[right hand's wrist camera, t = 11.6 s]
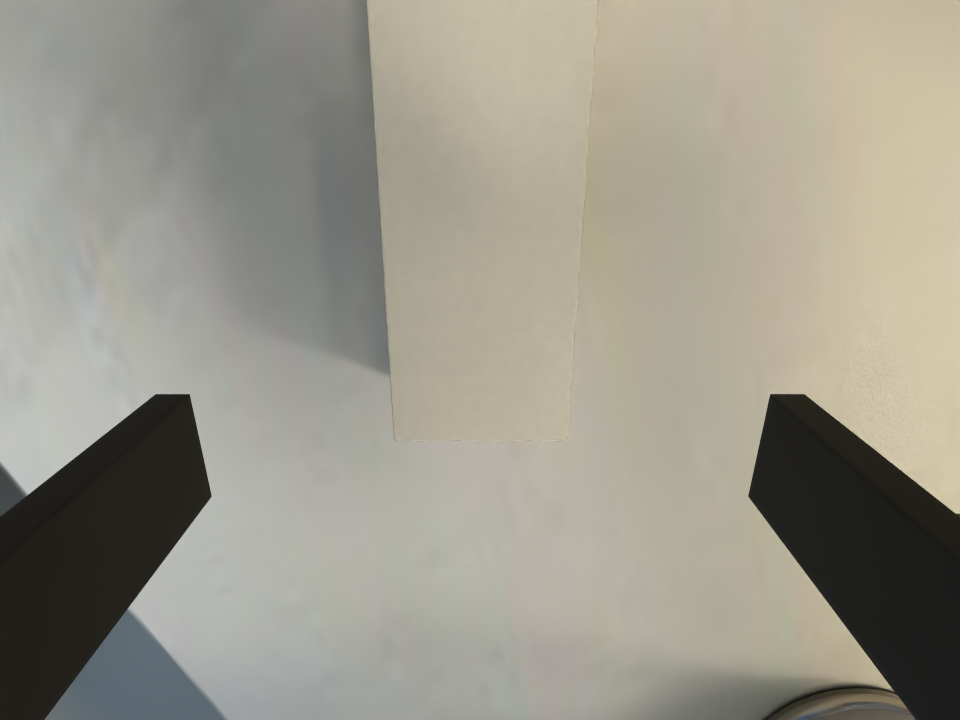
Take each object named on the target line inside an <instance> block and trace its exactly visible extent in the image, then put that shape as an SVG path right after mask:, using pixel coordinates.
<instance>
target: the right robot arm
mask: <svg viewBox="0 0 960 720" xmlns="http://www.w3.org/2000/svg"><path fill="white" fill-rule="evenodd" d="M211 497H212V496H211V491H210V486H209V482H208V477H207V473H206V468H205V463H204V459H203V454H202V449H201V445H200V440H199V435H198V431H197V426H196V422H195V417H194V412H193V408H192V403H191V398H190V394H156V395H154V396H153V397H152V398H150V399H149V400H148V401H147V402H145V403H144V404H143V405H142V406H140V407H139V408H138V409H137V410H135V411H134V412H133V413H131V414H130V415H129V416H128V417H126V418H125V419H124V420H123V421H121V422H120V423H119V424H118V425H116V426H115V427H114V428H112V429H111V430H110V431H109V432H107V433H106V434H105V435H104V436H102V437H101V438H100V439H99V440H97V441H96V442H95V443H93V444H92V445H91V446H90V447H88V448H87V449H86V450H85V451H83V452H82V453H81V454H80V455H78V456H77V457H76V458H74V459H73V460H72V461H71V462H69V463H68V464H67V465H66V466H64V467H63V468H62V469H61V470H59V471H58V472H57V473H55V474H54V475H53V476H52V477H50V478H49V479H48V480H47V481H45V482H44V483H43V484H42V485H40V486H39V487H38V488H36V489H35V490H34V491H33V492H31V493H30V494H29V495H28V496H26V497H25V498H24V499H23V500H21V501H20V502H19V503H17V504H16V505H15V506H14V507H12V508H11V509H10V510H9V511H7V512H6V513H5V514H4V515H2V516H0V720H44V719H45V718H46V717H47V715H48V714H49V713H50V711H51V710H52V709H53V707H54V706H55V705H56V703H57V702H58V701H59V699H60V698H61V697H62V695H63V694H64V693H65V691H66V690H67V689H68V687H69V686H70V685H71V683H72V682H73V681H74V679H75V678H76V677H77V675H78V674H79V673H80V671H81V670H82V669H83V667H84V666H85V665H86V663H87V662H88V661H89V659H90V658H91V657H92V655H93V654H94V653H95V651H96V650H97V649H98V647H99V646H100V645H101V643H102V642H103V641H104V639H105V638H106V637H107V635H108V634H109V633H110V631H111V630H112V629H113V627H114V626H115V625H116V623H117V622H118V621H119V619H120V618H121V617H122V615H123V614H124V613H125V611H126V610H127V609H128V607H129V606H130V605H131V603H132V602H133V601H134V599H135V598H136V597H137V595H138V594H139V593H140V591H141V590H142V589H143V587H144V586H145V585H146V583H147V582H148V581H149V579H150V578H151V577H152V575H153V574H154V573H155V571H156V570H157V569H158V567H159V566H160V565H161V563H162V562H163V561H164V559H165V558H166V557H167V555H168V554H169V553H170V551H171V550H172V549H173V547H174V546H175V545H176V543H177V542H178V541H179V539H180V538H181V537H182V535H183V534H184V533H185V531H186V530H187V529H188V527H189V526H190V525H191V523H192V522H193V521H194V519H195V518H196V517H197V515H198V514H199V513H200V511H201V510H202V509H203V507H204V506H205V505H206V503H207V502H208V501H209V499H210V498H211ZM748 497H749V498H750V499H751V501H752V502H753V503H754V505H755V506H756V507H757V509H758V510H759V511H760V513H761V514H762V515H763V517H764V518H765V519H766V521H767V522H768V523H769V525H770V526H771V527H772V529H773V530H774V531H775V533H776V534H777V535H778V537H779V538H780V539H781V541H782V542H783V543H784V545H785V546H786V547H787V549H788V550H789V551H790V553H791V554H792V555H793V557H794V558H795V559H796V561H797V562H798V563H799V565H800V566H801V567H802V569H803V570H804V571H805V573H806V574H807V575H808V577H809V578H810V579H811V581H812V582H813V583H814V585H815V586H816V587H817V589H818V590H819V591H820V593H821V594H822V595H823V597H824V598H825V599H826V601H827V602H828V603H829V605H830V606H831V607H832V609H833V610H834V611H835V613H836V614H837V615H838V617H839V618H840V619H841V621H842V622H843V623H844V625H845V626H846V627H847V629H848V630H849V631H850V633H851V634H852V635H853V637H854V638H855V639H856V641H857V642H858V643H859V645H860V646H861V647H862V649H863V650H864V651H865V653H866V654H867V655H868V657H869V658H870V659H871V661H872V662H873V663H874V665H875V666H876V667H877V669H878V670H879V671H880V673H881V674H882V675H883V677H884V678H885V679H886V681H887V682H888V683H889V685H890V686H891V687H892V689H893V690H894V691H895V693H896V694H897V695H896V694H893V693H890V692H886V691H882V690H875V689H864V688H852V689H840V690H834V691H828V692H824V693H820V694H816V695H813V696H810V697H807V698H804V699H802V700H799V701H797V702H795V703H792V704H791V705H789V706H787V707H785V708H783V709H781V710H780V711H778V712H777V713H775V714H774V715H773V716H771V717H770V718H769V719H768V720H960V514H955V513H954V512H953V511H951V510H950V509H949V508H948V507H946V506H945V505H944V504H943V503H941V502H940V501H939V500H937V499H936V498H935V497H934V496H932V495H931V494H930V493H929V492H927V491H926V490H925V489H924V488H922V487H921V486H920V485H918V484H917V483H916V482H915V481H913V480H912V479H911V478H910V477H908V476H907V475H906V474H905V473H903V472H902V471H901V470H899V469H898V468H897V467H896V466H894V465H893V464H892V463H891V462H889V461H888V460H887V459H886V458H884V457H883V456H882V455H880V454H879V453H878V452H877V451H875V450H874V449H873V448H872V447H870V446H869V445H868V444H867V443H865V442H864V441H863V440H861V439H860V438H859V437H858V436H856V435H855V434H854V433H853V432H851V431H850V430H849V429H848V428H846V427H845V426H844V425H842V424H841V423H840V422H839V421H837V420H836V419H835V418H834V417H832V416H831V415H830V414H829V413H827V412H826V411H825V410H823V409H822V408H821V407H820V406H818V405H817V404H816V403H815V402H813V401H812V400H811V399H810V398H808V397H807V396H806V395H804V394H770V398H769V403H768V408H767V412H766V417H765V422H764V426H763V431H762V435H761V440H760V445H759V449H758V454H757V459H756V463H755V468H754V473H753V477H752V482H751V486H750V491H749V496H748Z"/></svg>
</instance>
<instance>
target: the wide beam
mask: <svg viewBox="0 0 960 720" xmlns="http://www.w3.org/2000/svg"><path fill="white" fill-rule="evenodd" d="M366 1H367V17H368V33H369V49H370V65H371V81H372V97H373V112H374V128H375V144H376V160H377V176H378V192H379V208H380V224H381V239H382V255H383V271H384V287H385V303H386V319H387V335H388V350H389V366H390V382H391V398H392V414H393V430H394V440H395V441H567V440H568V426H569V412H570V398H571V384H572V370H573V355H574V341H575V327H576V313H577V299H578V284H579V270H580V256H581V242H582V228H583V214H584V199H585V185H586V171H587V157H588V143H589V128H590V114H591V100H592V86H593V72H594V58H595V43H596V29H597V15H598V1H599V0H366Z"/></svg>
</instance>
